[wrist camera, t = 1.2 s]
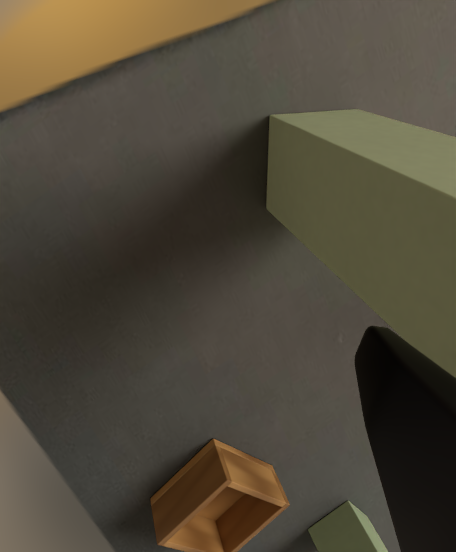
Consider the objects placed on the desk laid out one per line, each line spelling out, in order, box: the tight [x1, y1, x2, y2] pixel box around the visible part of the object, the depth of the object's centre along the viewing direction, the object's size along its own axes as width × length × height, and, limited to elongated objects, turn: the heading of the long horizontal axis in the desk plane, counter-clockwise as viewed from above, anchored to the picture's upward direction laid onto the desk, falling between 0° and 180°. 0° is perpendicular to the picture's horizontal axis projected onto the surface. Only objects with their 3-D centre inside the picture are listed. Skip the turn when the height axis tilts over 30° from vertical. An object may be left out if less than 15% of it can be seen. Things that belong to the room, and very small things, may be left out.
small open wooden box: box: [150, 439, 290, 552], centre depth 33 cm, size 7×7×4 cm
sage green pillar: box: [266, 109, 456, 378], centre depth 17 cm, size 5×5×16 cm
